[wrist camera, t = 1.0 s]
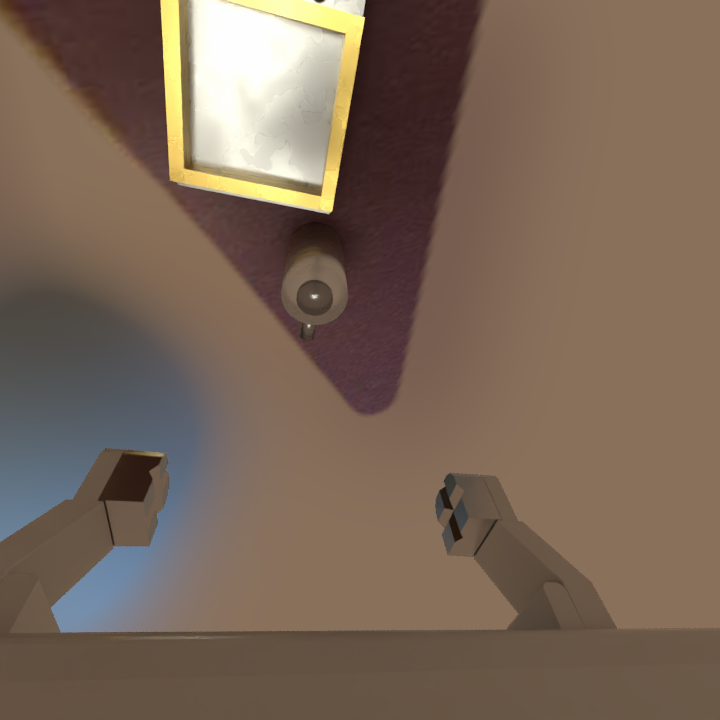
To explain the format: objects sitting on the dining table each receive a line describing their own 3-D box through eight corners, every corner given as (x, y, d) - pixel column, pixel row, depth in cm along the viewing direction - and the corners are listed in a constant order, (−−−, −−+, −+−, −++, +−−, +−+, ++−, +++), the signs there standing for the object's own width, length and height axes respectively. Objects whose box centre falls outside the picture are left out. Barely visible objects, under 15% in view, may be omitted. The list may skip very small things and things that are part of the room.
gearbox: (181, -232, 23) (144, -311, 18) (386, -154, 25) (403, -206, 20) (191, 173, 35) (170, 191, 30) (328, 201, 37) (330, 221, 32)
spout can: (292, 218, 38) (284, 262, 29) (346, 228, 39) (354, 274, 30) (283, 289, 42) (274, 346, 33) (333, 296, 43) (336, 354, 34)
